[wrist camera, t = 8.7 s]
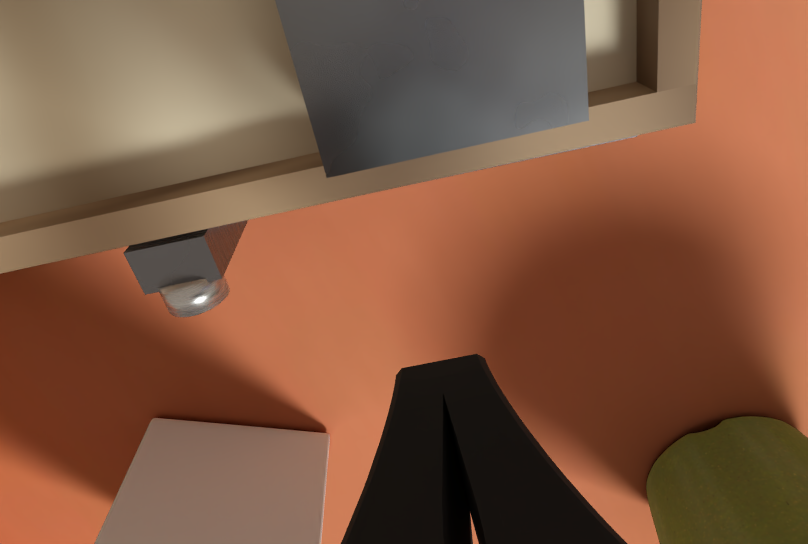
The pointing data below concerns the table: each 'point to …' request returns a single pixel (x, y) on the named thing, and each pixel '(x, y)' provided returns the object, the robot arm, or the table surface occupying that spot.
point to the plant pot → (733, 485)
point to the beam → (245, 117)
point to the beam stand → (193, 265)
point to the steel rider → (433, 74)
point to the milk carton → (221, 486)
